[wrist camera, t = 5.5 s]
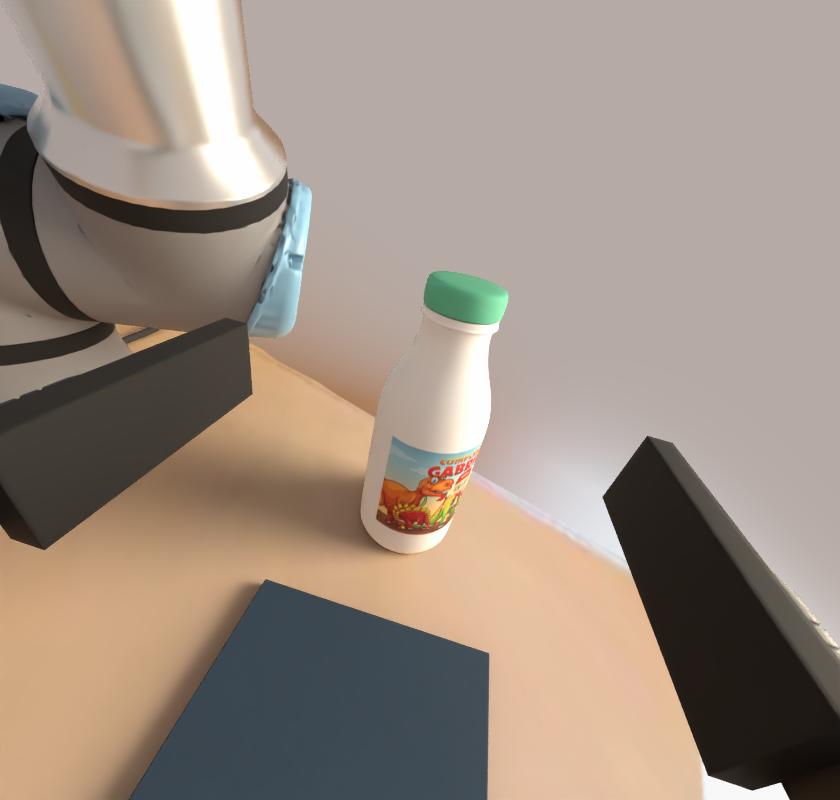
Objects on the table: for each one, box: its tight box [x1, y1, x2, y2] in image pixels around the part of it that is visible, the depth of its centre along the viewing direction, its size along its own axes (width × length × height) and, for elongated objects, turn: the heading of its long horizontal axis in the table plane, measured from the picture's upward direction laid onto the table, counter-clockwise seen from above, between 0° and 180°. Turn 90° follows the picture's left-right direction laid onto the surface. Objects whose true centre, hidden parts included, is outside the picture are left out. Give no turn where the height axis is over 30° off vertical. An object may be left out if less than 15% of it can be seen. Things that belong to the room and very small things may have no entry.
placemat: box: [129, 580, 489, 800], centre depth 16 cm, size 15×11×1 cm
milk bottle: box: [361, 271, 508, 554], centre depth 23 cm, size 8×8×20 cm
